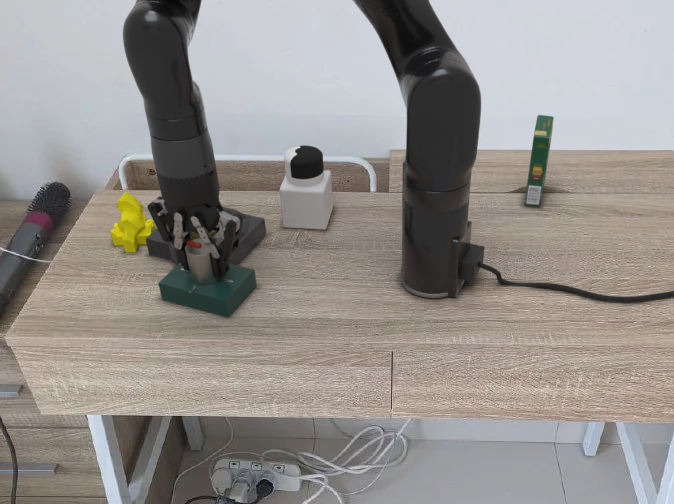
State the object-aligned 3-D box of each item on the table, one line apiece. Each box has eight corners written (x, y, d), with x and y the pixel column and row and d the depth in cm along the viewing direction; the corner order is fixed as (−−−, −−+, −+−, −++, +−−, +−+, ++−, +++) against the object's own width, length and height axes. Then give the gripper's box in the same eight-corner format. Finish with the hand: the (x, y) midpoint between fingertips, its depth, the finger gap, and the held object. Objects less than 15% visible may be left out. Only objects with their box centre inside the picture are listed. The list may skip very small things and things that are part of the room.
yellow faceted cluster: (111, 253, 121) (99, 209, 116) (121, 225, 127) (110, 182, 122) (150, 251, 121) (139, 207, 116) (158, 224, 127) (148, 181, 122)
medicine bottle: (333, 208, 132) (329, 141, 124) (326, 230, 126) (321, 162, 118) (291, 205, 132) (285, 139, 124) (282, 228, 127) (275, 160, 119)
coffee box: (540, 209, 132) (551, 136, 123) (523, 207, 132) (532, 134, 124) (544, 186, 138) (555, 115, 129) (528, 184, 138) (537, 113, 130)
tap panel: (258, 285, 115) (255, 267, 113) (227, 318, 109) (224, 300, 107) (193, 269, 118) (190, 251, 116) (160, 301, 112) (156, 283, 110)
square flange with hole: (268, 232, 126) (266, 216, 124) (225, 276, 116) (222, 260, 115) (194, 215, 130) (191, 199, 128) (146, 257, 120) (142, 240, 118)
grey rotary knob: (228, 270, 112) (222, 239, 109) (211, 287, 109) (205, 256, 106) (201, 264, 114) (195, 233, 110) (184, 280, 110) (178, 249, 107)
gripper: (120, 165, 99) (148, 275, 110) (217, 185, 95) (236, 298, 106) (155, 140, 104) (178, 248, 116) (248, 159, 100) (263, 268, 112)
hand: (206, 271), depth 111 cm, fingers closed on grey rotary knob, 4 cm apart
